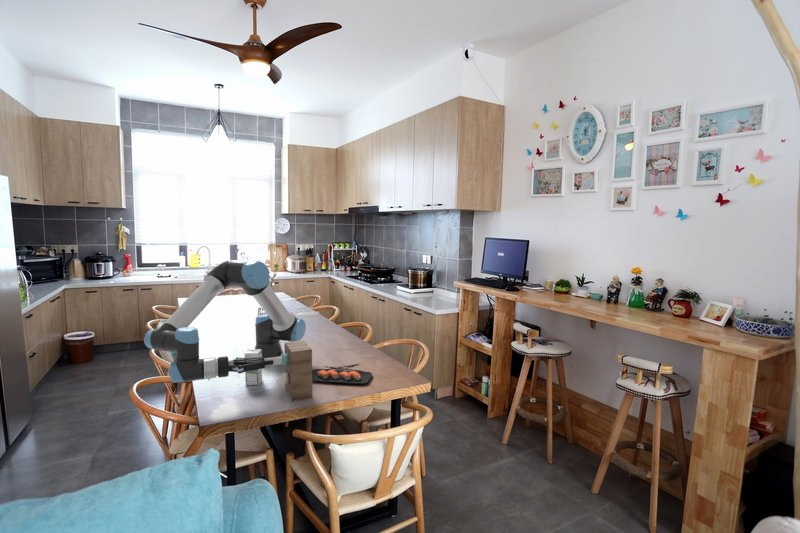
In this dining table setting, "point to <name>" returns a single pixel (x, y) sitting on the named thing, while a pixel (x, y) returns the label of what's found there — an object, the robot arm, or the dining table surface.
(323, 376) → the sushi plate
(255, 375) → the syrup box
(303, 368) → the block
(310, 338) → the dining table surface
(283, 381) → the cream knob
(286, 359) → the teal knob
